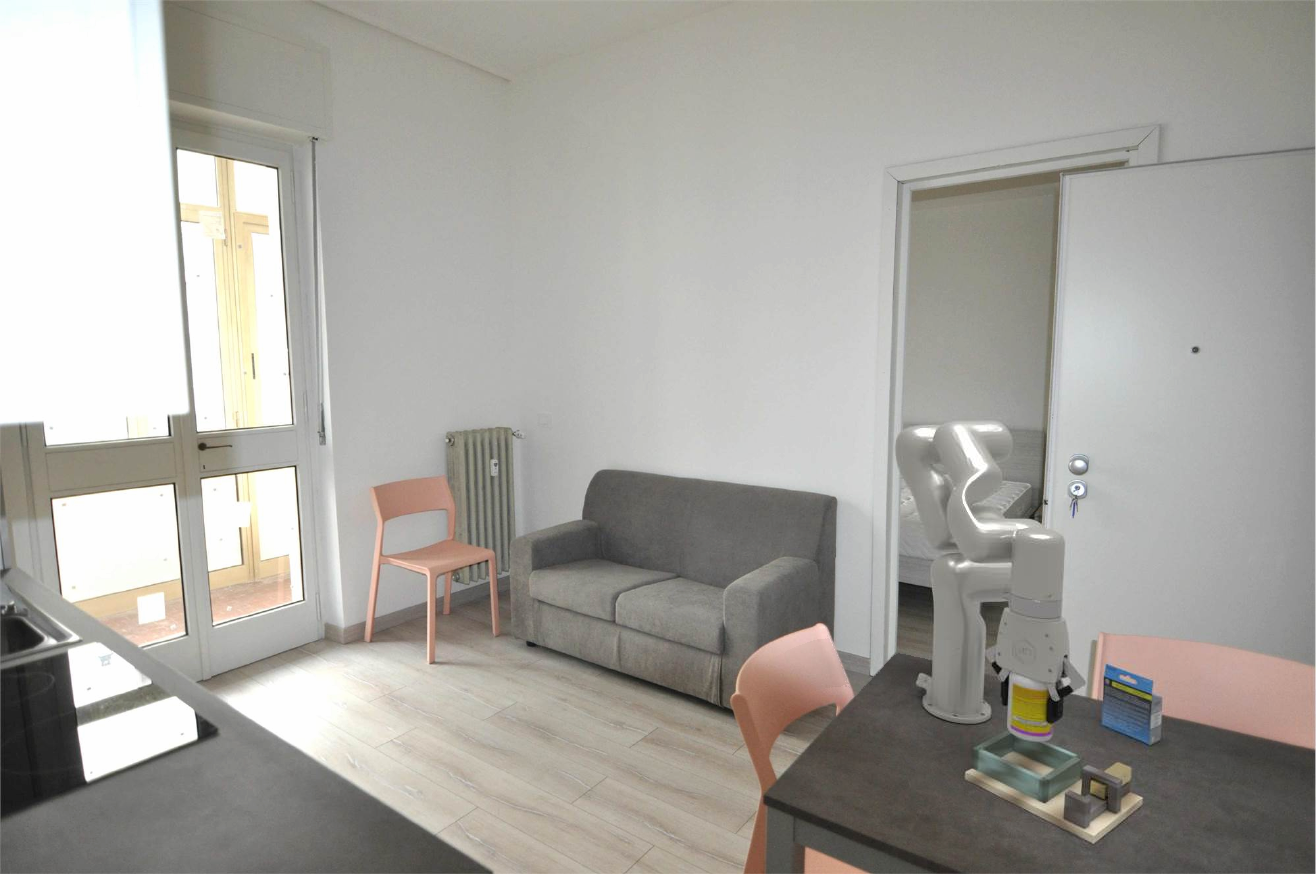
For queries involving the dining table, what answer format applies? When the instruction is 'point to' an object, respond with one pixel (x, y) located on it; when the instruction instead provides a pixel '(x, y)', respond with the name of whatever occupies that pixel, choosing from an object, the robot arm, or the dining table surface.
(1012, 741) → the dock
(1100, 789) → the lock bolt
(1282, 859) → the dining table surface
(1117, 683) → the label tape box
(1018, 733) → the supplement bottle
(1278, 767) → the dining table surface
